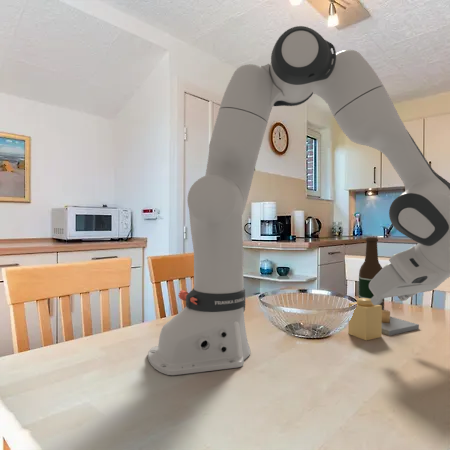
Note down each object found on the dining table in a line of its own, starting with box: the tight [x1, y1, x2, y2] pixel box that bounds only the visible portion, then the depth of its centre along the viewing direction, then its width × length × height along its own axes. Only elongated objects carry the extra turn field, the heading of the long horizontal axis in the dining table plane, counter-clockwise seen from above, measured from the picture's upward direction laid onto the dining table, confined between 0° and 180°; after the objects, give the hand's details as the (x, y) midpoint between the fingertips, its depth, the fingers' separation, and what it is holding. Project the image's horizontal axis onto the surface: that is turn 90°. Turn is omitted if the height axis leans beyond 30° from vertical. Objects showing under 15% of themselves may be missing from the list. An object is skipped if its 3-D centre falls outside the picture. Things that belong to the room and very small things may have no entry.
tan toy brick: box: [347, 297, 383, 341], centre depth 90 cm, size 6×6×9 cm
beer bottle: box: [358, 236, 385, 310], centre depth 114 cm, size 8×8×24 cm
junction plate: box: [382, 309, 420, 336], centre depth 98 cm, size 12×12×4 cm
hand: (387, 300), depth 84 cm, fingers open, 8 cm apart
